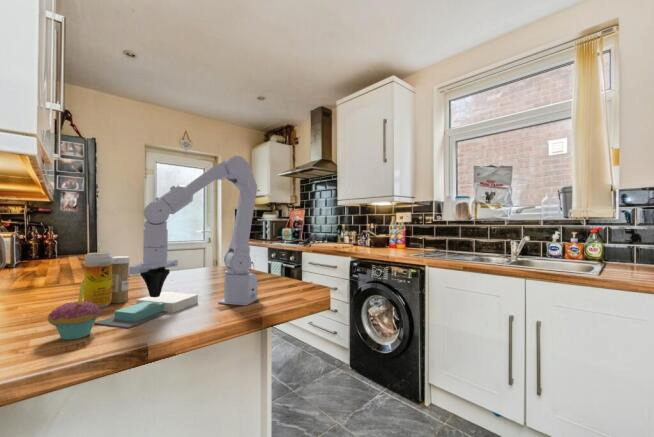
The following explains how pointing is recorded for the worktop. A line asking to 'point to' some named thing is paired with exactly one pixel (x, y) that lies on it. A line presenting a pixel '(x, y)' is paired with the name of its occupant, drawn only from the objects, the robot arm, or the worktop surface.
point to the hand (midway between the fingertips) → (154, 296)
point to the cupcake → (75, 317)
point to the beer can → (98, 278)
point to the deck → (172, 300)
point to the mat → (128, 324)
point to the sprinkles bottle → (119, 279)
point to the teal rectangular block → (138, 311)
